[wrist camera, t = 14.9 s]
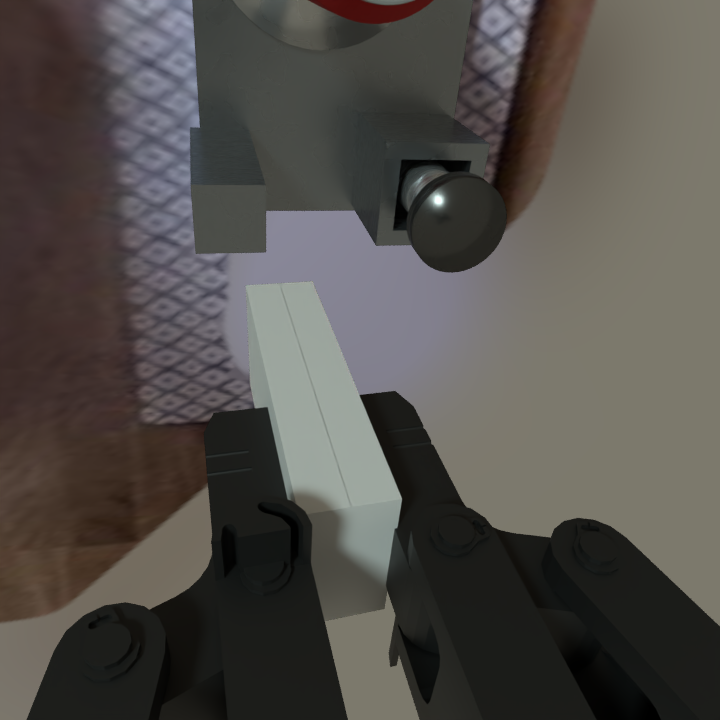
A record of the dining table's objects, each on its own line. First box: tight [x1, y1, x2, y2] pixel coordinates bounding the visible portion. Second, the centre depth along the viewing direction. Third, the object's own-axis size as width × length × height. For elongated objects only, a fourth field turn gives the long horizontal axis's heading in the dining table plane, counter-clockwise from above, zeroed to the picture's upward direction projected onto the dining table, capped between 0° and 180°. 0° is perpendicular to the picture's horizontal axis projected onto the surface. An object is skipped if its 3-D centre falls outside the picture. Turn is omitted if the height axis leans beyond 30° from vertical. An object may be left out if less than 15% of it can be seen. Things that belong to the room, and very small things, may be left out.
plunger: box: [397, 159, 507, 272], centre depth 31 cm, size 4×4×9 cm
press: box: [190, 0, 490, 254], centre depth 27 cm, size 14×20×10 cm
